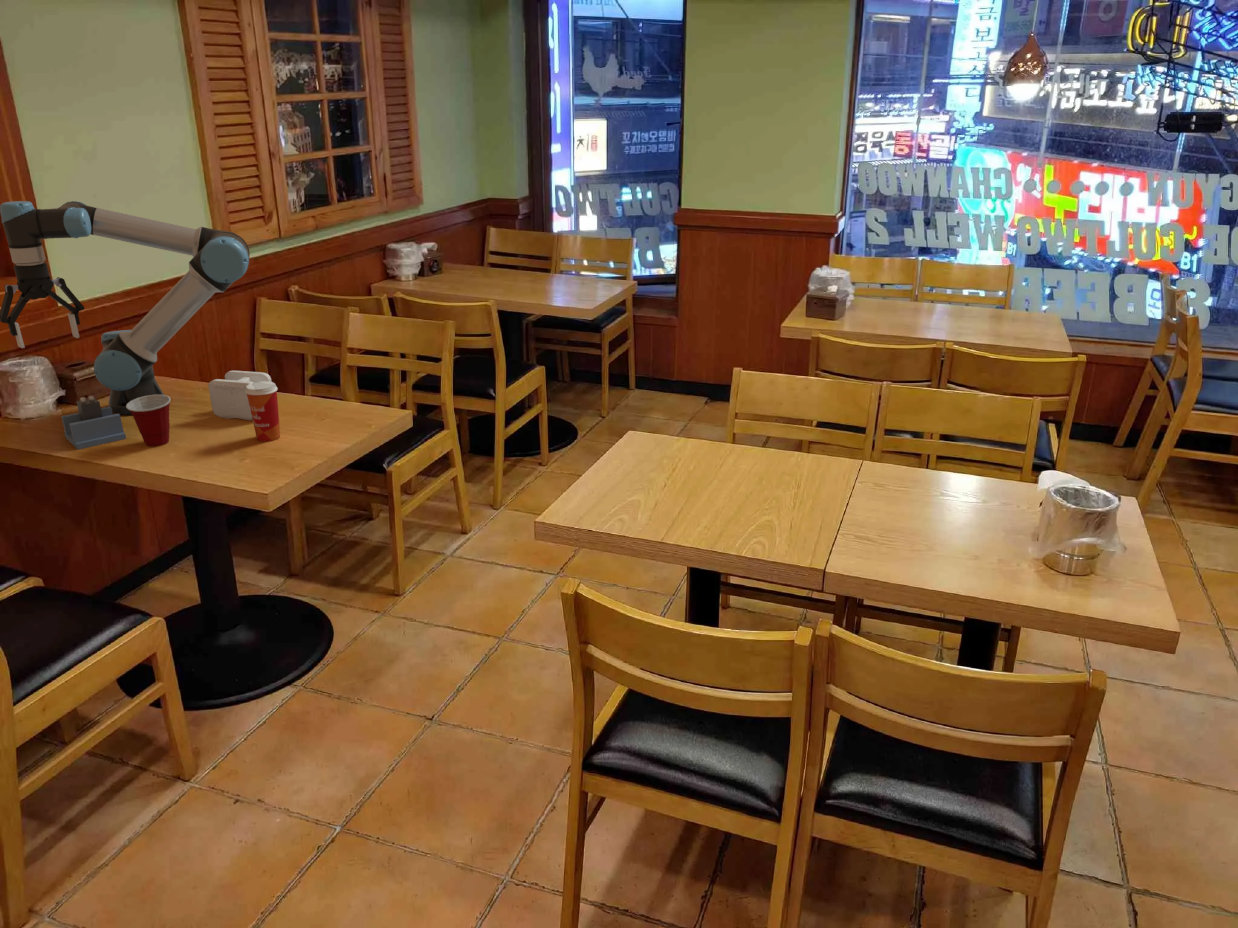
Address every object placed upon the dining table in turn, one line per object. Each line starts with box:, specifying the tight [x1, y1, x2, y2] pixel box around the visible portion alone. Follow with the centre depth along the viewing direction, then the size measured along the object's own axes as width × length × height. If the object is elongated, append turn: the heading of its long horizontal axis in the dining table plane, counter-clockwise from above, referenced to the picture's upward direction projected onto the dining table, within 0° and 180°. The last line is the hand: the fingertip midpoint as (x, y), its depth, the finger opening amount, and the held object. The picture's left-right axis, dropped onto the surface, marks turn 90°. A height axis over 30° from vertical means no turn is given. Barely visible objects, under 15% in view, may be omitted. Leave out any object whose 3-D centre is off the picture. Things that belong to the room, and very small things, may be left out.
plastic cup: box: [126, 394, 172, 448], centre depth 245 cm, size 11×11×12 cm
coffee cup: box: [245, 381, 281, 442], centre depth 248 cm, size 8×8×15 cm
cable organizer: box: [208, 370, 272, 421], centre depth 266 cm, size 15×11×12 cm
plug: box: [76, 395, 103, 421], centre depth 248 cm, size 4×4×10 cm
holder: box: [61, 405, 127, 450], centre depth 249 cm, size 12×12×6 cm
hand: (49, 342), depth 249 cm, fingers open, 13 cm apart
